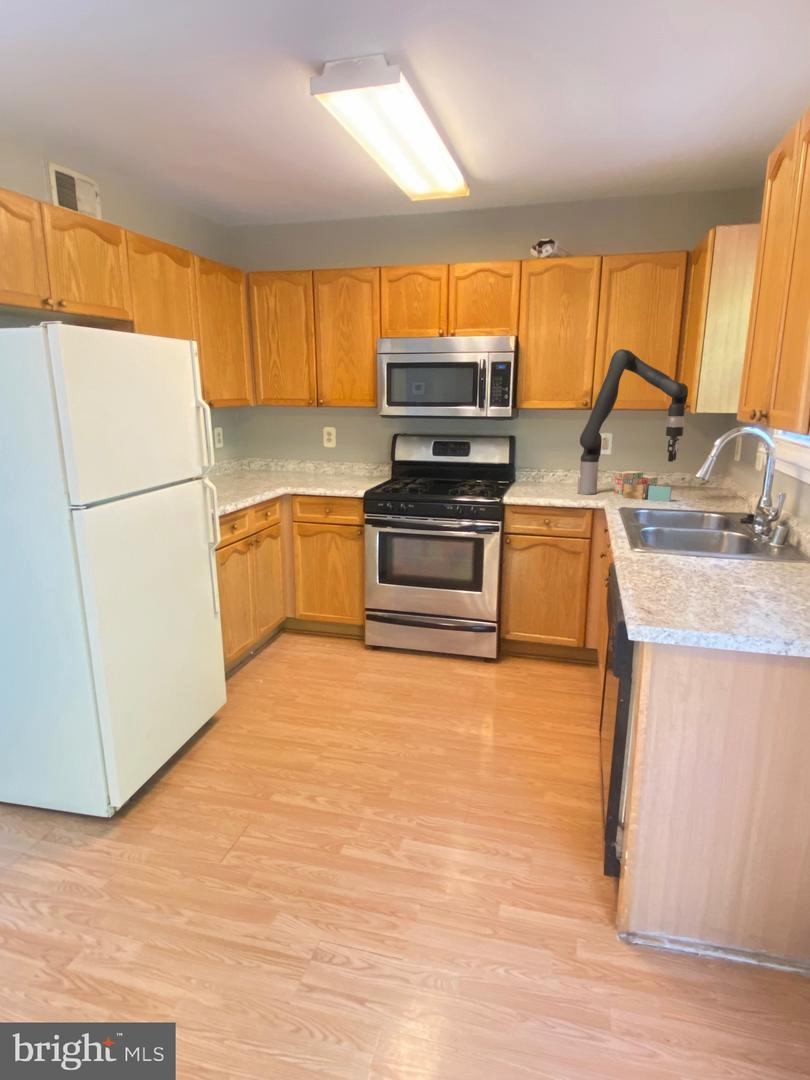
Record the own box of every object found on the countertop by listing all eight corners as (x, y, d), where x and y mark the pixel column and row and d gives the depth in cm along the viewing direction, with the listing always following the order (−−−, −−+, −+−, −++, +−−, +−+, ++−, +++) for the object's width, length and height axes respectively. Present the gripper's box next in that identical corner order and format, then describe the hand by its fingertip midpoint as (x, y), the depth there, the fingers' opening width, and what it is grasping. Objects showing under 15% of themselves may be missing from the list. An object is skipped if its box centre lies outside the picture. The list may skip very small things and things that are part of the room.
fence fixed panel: (622, 499, 301) (624, 482, 299) (623, 498, 303) (625, 482, 301) (646, 501, 295) (648, 484, 293) (648, 500, 296) (649, 483, 294)
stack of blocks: (648, 493, 322) (650, 470, 319) (656, 494, 316) (658, 471, 313) (614, 494, 316) (615, 471, 313) (621, 496, 310) (623, 473, 308)
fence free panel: (647, 499, 294) (648, 486, 293) (648, 499, 296) (649, 485, 294) (669, 501, 289) (670, 487, 287) (670, 501, 290) (671, 487, 289)
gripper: (669, 425, 294) (666, 459, 298) (663, 426, 282) (660, 461, 286) (686, 425, 290) (682, 460, 294) (680, 426, 278) (677, 462, 282)
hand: (671, 460), depth 290 cm, fingers open, 6 cm apart
